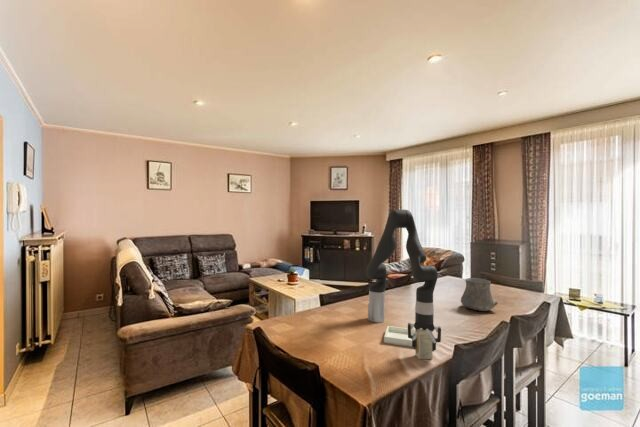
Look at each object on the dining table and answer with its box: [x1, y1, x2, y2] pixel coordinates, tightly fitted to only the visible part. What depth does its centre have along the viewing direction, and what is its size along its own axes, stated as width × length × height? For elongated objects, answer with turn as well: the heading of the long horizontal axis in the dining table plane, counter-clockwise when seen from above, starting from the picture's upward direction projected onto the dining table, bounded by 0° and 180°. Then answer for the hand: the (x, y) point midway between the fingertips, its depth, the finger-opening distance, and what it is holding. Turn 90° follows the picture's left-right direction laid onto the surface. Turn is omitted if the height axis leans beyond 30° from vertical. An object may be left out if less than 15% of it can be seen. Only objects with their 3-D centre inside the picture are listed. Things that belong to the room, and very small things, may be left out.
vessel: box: [460, 277, 499, 312], centre depth 206 cm, size 22×22×20 cm
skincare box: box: [414, 328, 434, 360], centre depth 132 cm, size 6×4×12 cm
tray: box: [383, 325, 416, 349], centre depth 151 cm, size 22×16×3 cm
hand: (423, 349), depth 132 cm, fingers closed on skincare box, 7 cm apart
